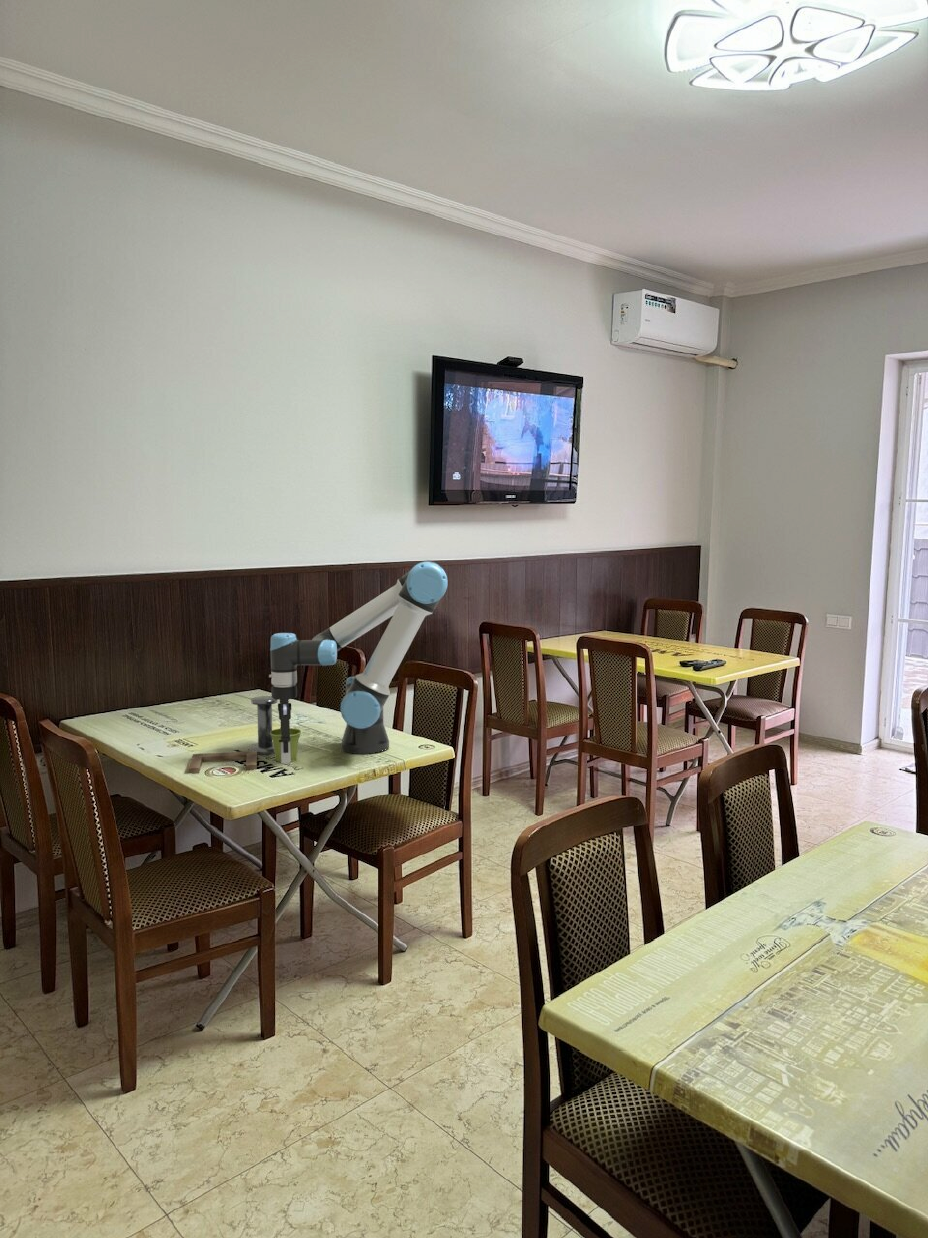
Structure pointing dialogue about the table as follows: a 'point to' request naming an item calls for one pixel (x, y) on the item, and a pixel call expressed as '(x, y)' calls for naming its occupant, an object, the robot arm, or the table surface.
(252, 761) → the notched board
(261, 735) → the spool
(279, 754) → the plant pot
